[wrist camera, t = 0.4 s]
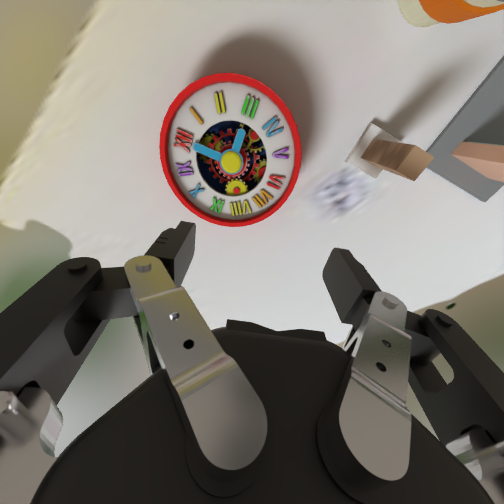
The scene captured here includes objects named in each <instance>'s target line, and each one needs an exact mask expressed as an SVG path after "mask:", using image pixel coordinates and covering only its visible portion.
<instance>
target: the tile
mask: <svg viewBox="0 0 504 504" xmlns="http://www.w3.org/2000/svg"><path fill="white" fill-rule="evenodd" d="M451 155H453V156H454V157H456V158H457V159H459V160H460V161H462V162H464V163H465V164H467V165H468V166H470V167H471V168H473V169H474V170H476V171H477V172H479V173H481V174H482V175H484V176H485V177H487V178H488V179H492V180H496V181H500V182H504V145H500V144H490V143H480V142H470V141H469V142H461V143H460V144H459V146H458V147H457V148H456V149H455V150H454V151H453V152H452V154H451Z"/></svg>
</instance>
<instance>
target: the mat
mask: <svg viewBox="0 0 504 504" xmlns="http://www.w3.org/2000/svg"><path fill="white" fill-rule="evenodd" d="M469 141H470V142H480V143H490V144H500V145H504V56H503V58H502V59H501V60H500V61H499V63H498V64H497V65H496V66H495V68H494V69H493V70H492V71H491V72H490V74H489V75H488V76H487V77H486V79H485V80H484V81H483V82H482V83H481V85H480V86H479V87H478V88H477V90H476V91H475V92H474V93H473V95H472V96H471V97H470V98H469V99H468V101H467V102H466V103H465V104H464V106H463V107H462V108H461V109H460V110H459V112H458V113H457V114H456V115H455V117H454V118H453V119H452V120H451V122H450V123H449V124H448V125H447V126H446V128H445V129H444V130H443V131H442V133H441V134H440V135H439V136H438V137H437V139H436V140H435V141H434V142H433V144H432V145H431V146H430V147H429V149H428V150H427V151H426V152H427V153H428V154H430V155H432V156H433V157H434V158H433V160H432V161H431V162H430V163H429V164H428V166H427V167H426V168H428V169H430V170H431V171H433V172H435V173H436V174H438V175H440V176H441V177H443V178H445V179H446V180H448V181H450V182H451V183H453V184H454V185H456V186H458V187H459V188H461V189H463V190H464V191H466V192H468V193H469V194H471V195H473V196H474V197H476V198H478V199H479V200H481V201H483V202H486V201H487V200H488V199H489V198H490V197H491V196H493V195H494V194H495V193H496V192H497V191H498V190H499V189H500V188H501V187H502V186H503V185H504V182H500V181H496V180H492V179H488V178H487V177H485V176H484V175H482V174H481V173H479V172H477V171H476V170H474V169H473V168H471V167H470V166H468V165H467V164H465V163H464V162H462V161H460V160H459V159H457V158H456V157H454V156H453V155H451V154H452V152H453V151H454V150H455V149H456V148H457V147H458V146H459V144H460V143H461V142H469Z"/></svg>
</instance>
